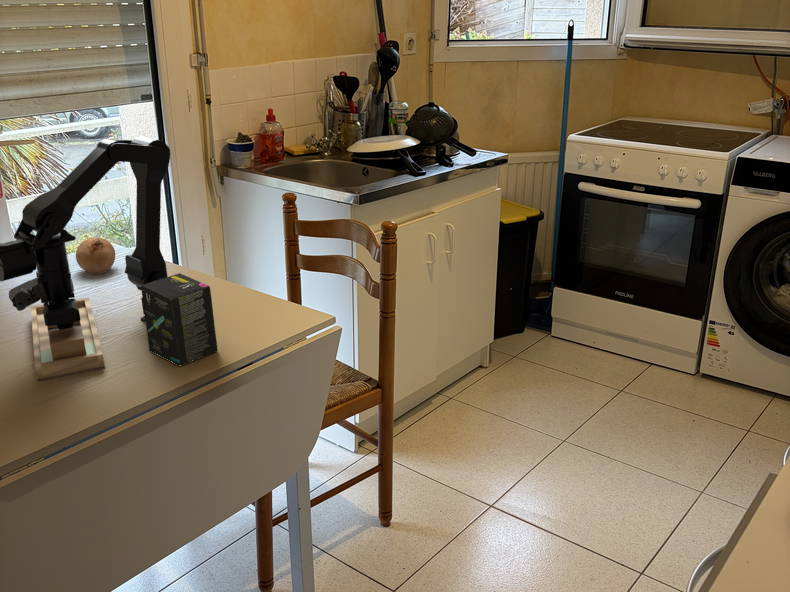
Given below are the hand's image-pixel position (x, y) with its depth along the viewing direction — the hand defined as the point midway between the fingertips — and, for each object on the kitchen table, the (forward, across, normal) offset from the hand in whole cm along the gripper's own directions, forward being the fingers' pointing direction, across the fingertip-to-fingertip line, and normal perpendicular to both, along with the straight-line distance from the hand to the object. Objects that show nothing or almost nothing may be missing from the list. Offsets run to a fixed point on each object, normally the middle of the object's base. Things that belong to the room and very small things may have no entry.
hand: (66, 338), depth 156 cm
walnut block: (+1, +6, 0) cm, 6 cm away
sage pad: (+3, +6, 0) cm, 6 cm away
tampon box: (+3, +10, +21) cm, 23 cm away
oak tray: (+3, -4, 0) cm, 5 cm away
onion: (+3, -44, +10) cm, 45 cm away
